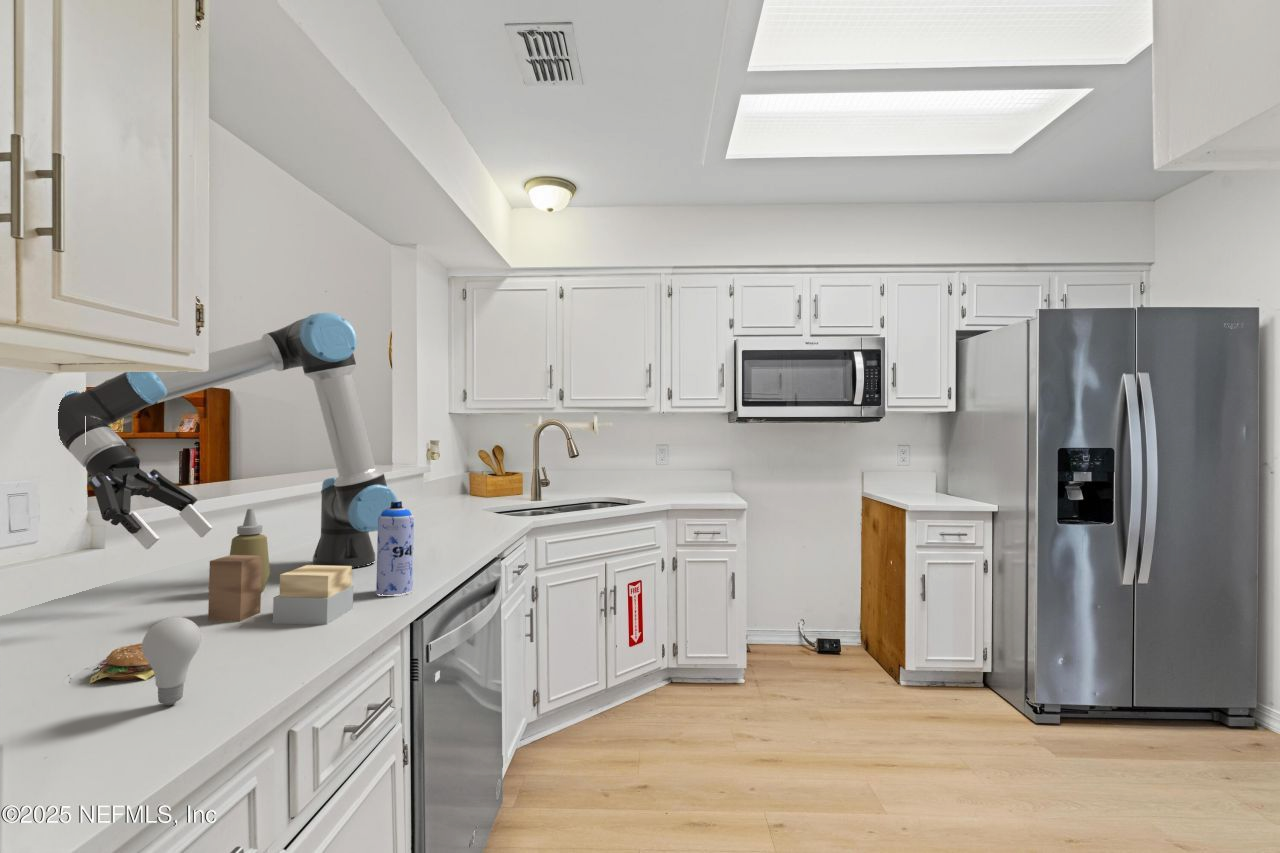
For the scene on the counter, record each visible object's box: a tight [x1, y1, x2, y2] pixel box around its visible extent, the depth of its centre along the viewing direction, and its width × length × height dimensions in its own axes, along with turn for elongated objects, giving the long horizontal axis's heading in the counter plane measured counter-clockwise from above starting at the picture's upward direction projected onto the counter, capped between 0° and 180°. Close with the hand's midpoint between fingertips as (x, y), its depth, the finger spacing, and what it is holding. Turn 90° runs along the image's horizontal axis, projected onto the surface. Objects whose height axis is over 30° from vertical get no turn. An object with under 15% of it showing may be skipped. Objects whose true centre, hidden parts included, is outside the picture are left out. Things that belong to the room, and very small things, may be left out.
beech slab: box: [279, 564, 353, 598], centre depth 122 cm, size 9×9×4 cm
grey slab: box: [272, 585, 354, 625], centre depth 121 cm, size 10×10×5 cm
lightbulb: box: [141, 616, 202, 707], centre depth 81 cm, size 6×6×11 cm
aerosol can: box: [375, 501, 415, 595], centre depth 140 cm, size 8×8×20 cm
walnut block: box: [207, 554, 262, 623], centre depth 120 cm, size 6×6×11 cm
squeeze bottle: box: [229, 508, 271, 593], centre depth 138 cm, size 8×8×18 cm
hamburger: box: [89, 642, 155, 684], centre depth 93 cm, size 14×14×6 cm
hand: (181, 538), depth 121 cm, fingers open, 13 cm apart
